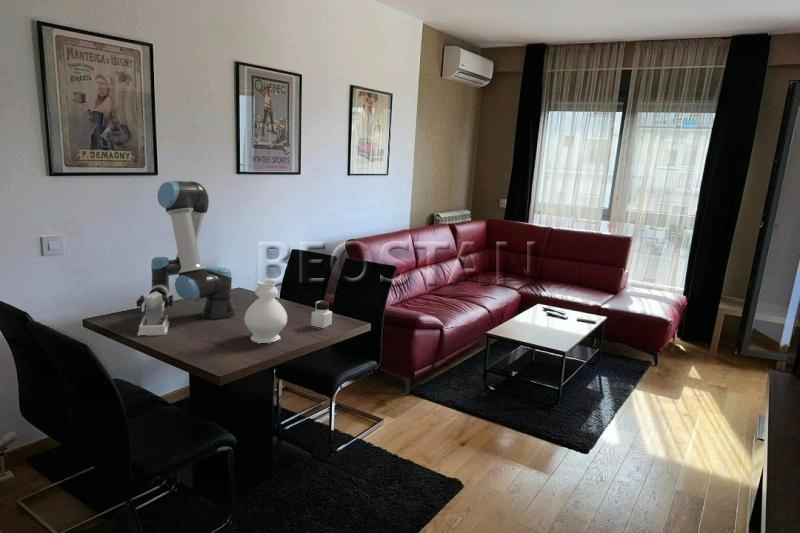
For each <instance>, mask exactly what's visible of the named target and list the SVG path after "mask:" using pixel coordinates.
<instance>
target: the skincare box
mask: <svg viewBox="0 0 800 533" xmlns="http://www.w3.org/2000/svg"><path fill="white" fill-rule="evenodd" d="M143 296H144V299H145V307H146V308H145V315H146V317H147V309H160V317H161V319H163V318H165V312H164V311H165V310H164V311H162V303H163V299H162V294H160V293H159V292H157V291H155V292H153V293H151V294H149V293H148V294H145V295H143Z"/></svg>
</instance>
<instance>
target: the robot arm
mask: <svg viewBox="0 0 800 533" xmlns="http://www.w3.org/2000/svg"><path fill="white" fill-rule="evenodd" d="M157 202H158V204H159V206H160V207H161V208H164V209H165V212H166V214H168V216H170V220H171V224H172V229H173V233H174V239H175V243H176V249H177V253H176V257H175V259H169V257H166V256H155V257H153V258H152V259H151V263H150V265H151V266H150V269H151V289H150V290H149V291H150V292H149V293H148V295H149V294H151V293H153V292H155V291H157V292H159V293H160V294H162V299H163V303H162V311H165V309H166V308H168V307H173V301H174V295H171V294H170V295H169V292H170V283H169V282H170V276H176V275H178V276H177V278H175V282H174V288H175V291H176V293H177V294H178V295H179V297H180V298H182V300H185V301H196V300H199V299H203V298H205V301H204V304H203V306H202V308H201V316H202V317H203V318H206V319H213V320H221V319H230V318H232V317H234V316H235V314H236V309H235V306H234V304H233V300H232V284H233V282H232V280H233V278H232V271H231V270H230V269H229V268H226V267H219V266H207V267H205V266H203V265H202V264H201V258H200V253H199V248H198V238H199V236H200V231H201V228H202V224H203V220H204V215H205V214H206V213H207V212H208V209H209V203H210V199H209V194H208V191H207V190H206V188H205V187H204V186H203V185H202V184H201V183H199V182H197V181H192V180H191V181H181V180H180V181H179V180H178V181H177V180H170V181H165V182H163V183H162V184H161V185H160V186H159V188H158V190H157ZM144 296H145V295H140V297H139V298H138V299H136V307H137V308H140V309H141V312H145V311H146V307H145V299H144Z"/></svg>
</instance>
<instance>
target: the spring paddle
mask: <svg viewBox="0 0 800 533" xmlns="http://www.w3.org/2000/svg"><path fill="white" fill-rule="evenodd" d="M146 319H147V326H156V325H161V319H162V318H161V317H160V309H147V316H146Z"/></svg>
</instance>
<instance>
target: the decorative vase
mask: <svg viewBox="0 0 800 533" xmlns="http://www.w3.org/2000/svg"><path fill="white" fill-rule="evenodd" d="M257 285H258V287H256V288H255V290H254V293H255V295H256V297H258V298H256V299H255V301H254V302H253V303H252V304H250V306H249V307H248V308H247V310H246V312H245V313H244V318H243V319H244V320H243V321H244V324H245V326H246V327H247V330H249V332H250V333H251V334H252V335H251V336H250V339H251V340H252V341H251V340H250V341H251V342H253V341H254V342H253V343H255V342H257V343H256V344H260V343H269V344H271V343H270V342H275V341H277V340H279V339H280V340H281V336H280V335H279V334H280V332H282V330H283V329H284V328H285V326H286V325H287V322H288V314H287V311H286V310H285V308H284V306H283V305H282V304H281V303H280V302H279V301H278V300H277V299H276V298H275V297H276V296H277V295H279V290H278V288H277V287H276V285H277V282H276V281H275V280H270V279H269V280H266V279H265V280H258V281H257ZM280 340H279V341H280ZM275 343H276V342H275Z"/></svg>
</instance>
